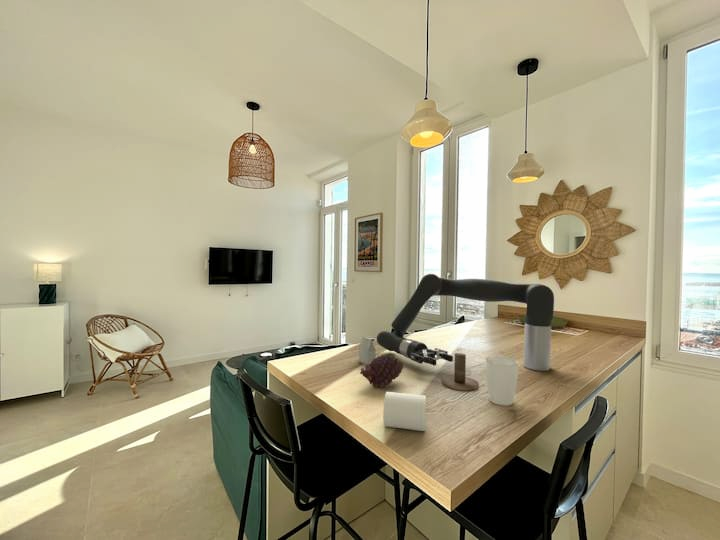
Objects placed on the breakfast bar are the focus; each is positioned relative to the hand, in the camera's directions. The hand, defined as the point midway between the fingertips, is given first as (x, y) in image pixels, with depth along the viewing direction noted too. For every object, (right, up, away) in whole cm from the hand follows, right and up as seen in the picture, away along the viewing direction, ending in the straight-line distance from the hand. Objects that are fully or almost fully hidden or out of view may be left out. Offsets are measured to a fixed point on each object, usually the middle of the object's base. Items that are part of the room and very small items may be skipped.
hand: (444, 360), depth 112 cm
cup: (+12, -7, -19) cm, 23 cm away
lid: (+4, -6, -6) cm, 9 cm away
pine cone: (-22, -6, -8) cm, 24 cm away
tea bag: (-27, -5, +14) cm, 31 cm away
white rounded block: (-19, -7, -32) cm, 38 cm away
